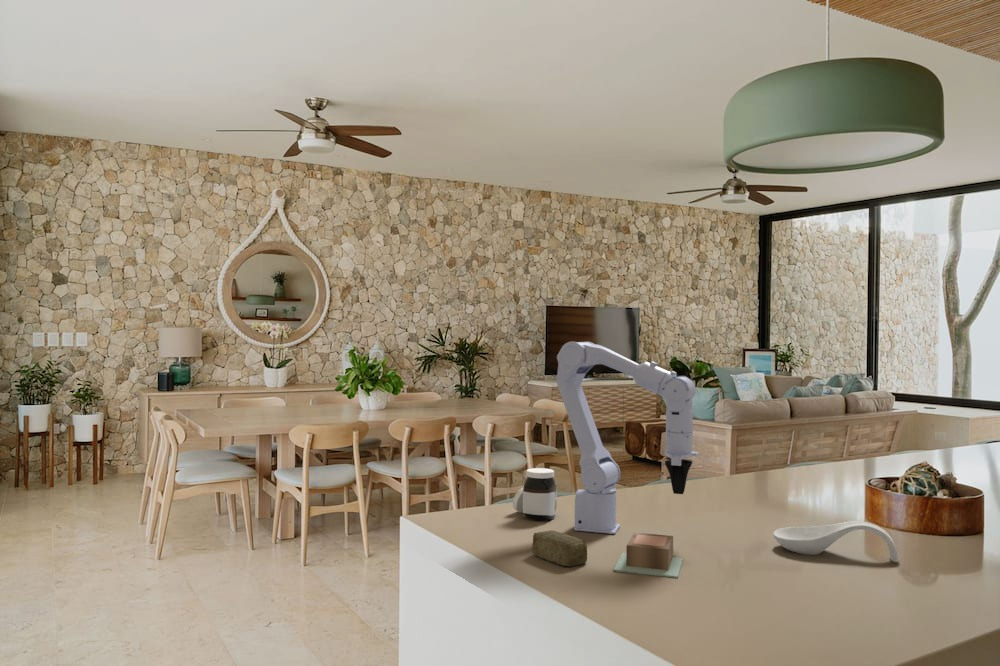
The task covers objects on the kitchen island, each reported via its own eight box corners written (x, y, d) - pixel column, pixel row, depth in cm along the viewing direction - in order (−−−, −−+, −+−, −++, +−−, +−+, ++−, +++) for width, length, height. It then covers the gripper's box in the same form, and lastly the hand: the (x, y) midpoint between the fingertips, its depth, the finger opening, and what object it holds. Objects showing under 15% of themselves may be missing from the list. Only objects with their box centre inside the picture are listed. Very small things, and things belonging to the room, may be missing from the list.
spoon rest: (772, 555, 153) (772, 520, 154) (773, 541, 164) (773, 508, 164) (901, 569, 145) (901, 532, 145) (893, 553, 156) (893, 519, 156)
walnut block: (633, 551, 153) (626, 565, 144) (633, 532, 153) (626, 545, 144) (673, 555, 151) (668, 570, 141) (673, 535, 151) (668, 548, 141)
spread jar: (549, 523, 177) (550, 475, 177) (504, 519, 181) (505, 471, 181) (561, 512, 189) (562, 466, 189) (519, 508, 192) (519, 464, 192)
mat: (613, 571, 141) (613, 569, 141) (623, 553, 153) (623, 552, 153) (677, 577, 138) (677, 576, 138) (682, 559, 149) (682, 558, 149)
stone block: (568, 570, 142) (568, 544, 142) (529, 556, 151) (529, 531, 151) (589, 564, 146) (589, 539, 146) (550, 551, 155) (550, 527, 155)
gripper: (695, 436, 155) (695, 501, 155) (699, 428, 169) (699, 488, 169) (661, 434, 157) (661, 499, 157) (668, 427, 171) (667, 486, 171)
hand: (678, 493), depth 163 cm, fingers closed
